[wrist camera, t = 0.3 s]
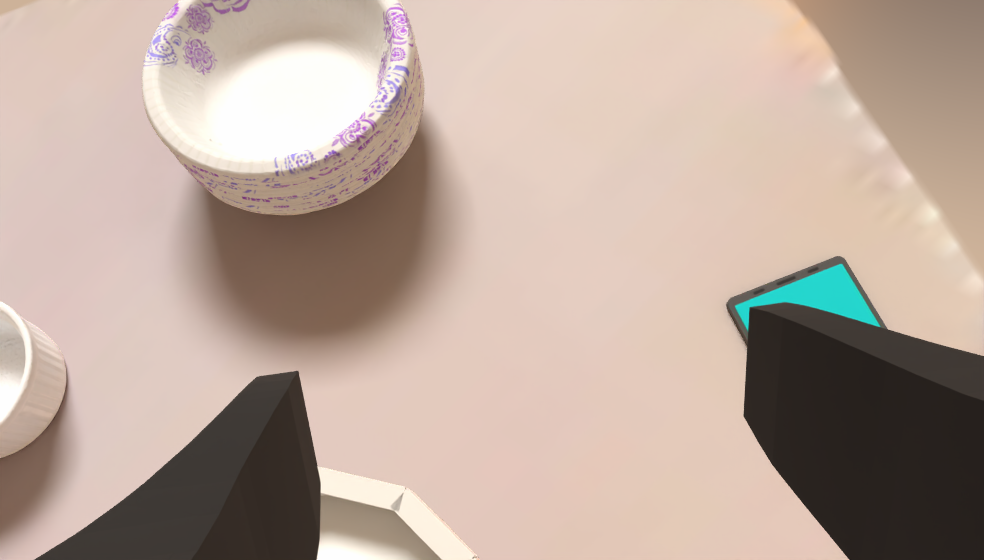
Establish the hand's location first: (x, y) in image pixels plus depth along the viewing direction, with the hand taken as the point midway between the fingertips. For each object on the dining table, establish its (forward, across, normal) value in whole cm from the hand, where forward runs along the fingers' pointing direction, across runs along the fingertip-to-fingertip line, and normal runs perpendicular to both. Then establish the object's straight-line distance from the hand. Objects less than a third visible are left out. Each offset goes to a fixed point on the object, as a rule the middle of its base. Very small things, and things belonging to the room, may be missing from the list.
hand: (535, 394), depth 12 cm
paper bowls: (+39, +6, +2) cm, 40 cm away
